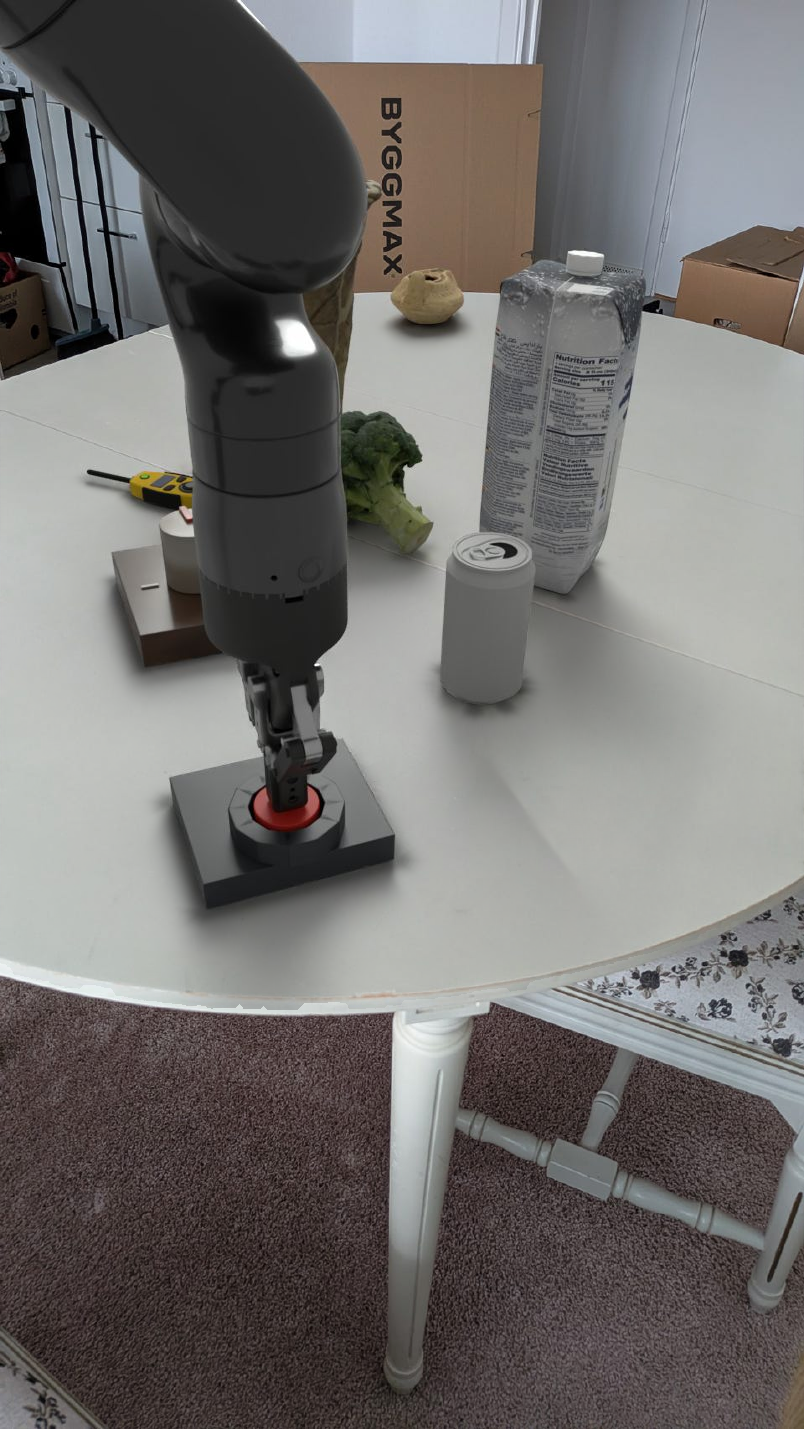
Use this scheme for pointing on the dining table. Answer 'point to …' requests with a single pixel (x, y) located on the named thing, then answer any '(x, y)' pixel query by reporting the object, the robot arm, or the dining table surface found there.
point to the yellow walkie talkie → (157, 487)
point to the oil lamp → (428, 296)
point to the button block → (264, 861)
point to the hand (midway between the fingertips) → (287, 802)
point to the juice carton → (559, 409)
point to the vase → (338, 306)
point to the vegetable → (381, 476)
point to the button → (286, 813)
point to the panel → (159, 609)
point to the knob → (180, 551)
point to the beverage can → (486, 617)
